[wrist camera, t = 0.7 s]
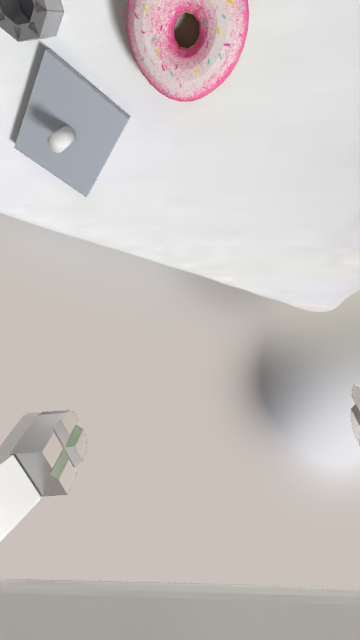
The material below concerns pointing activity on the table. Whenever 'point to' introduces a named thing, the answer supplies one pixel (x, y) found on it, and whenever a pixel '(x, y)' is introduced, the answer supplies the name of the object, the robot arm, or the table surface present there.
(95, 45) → the table surface
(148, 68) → the donut
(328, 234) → the table surface
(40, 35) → the ring
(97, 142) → the shaft block
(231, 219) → the table surface
